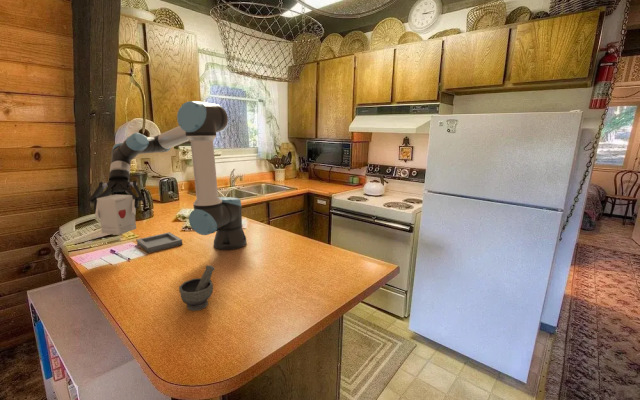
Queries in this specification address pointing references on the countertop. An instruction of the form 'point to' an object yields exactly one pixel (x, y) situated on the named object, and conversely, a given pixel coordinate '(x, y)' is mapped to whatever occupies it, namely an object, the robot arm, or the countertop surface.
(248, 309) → the countertop surface
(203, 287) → the mortar and pestle
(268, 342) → the countertop surface
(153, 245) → the charcoal tray
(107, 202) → the supplement box
